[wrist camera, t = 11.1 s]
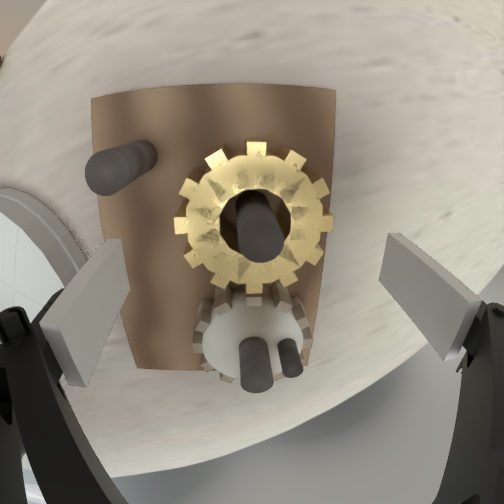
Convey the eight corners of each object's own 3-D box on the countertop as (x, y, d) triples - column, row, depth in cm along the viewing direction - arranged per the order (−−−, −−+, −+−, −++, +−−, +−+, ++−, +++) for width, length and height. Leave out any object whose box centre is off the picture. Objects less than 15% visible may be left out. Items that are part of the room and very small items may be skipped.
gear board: (140, 355, 30) (123, 420, 22) (101, 99, 19) (39, 94, 11) (303, 352, 31) (322, 417, 23) (327, 92, 20) (380, 79, 12)
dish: (125, 240, 25) (105, 266, 20) (87, 380, 32) (76, 408, 28) (-32, 158, 19) (-62, 169, 15) (-34, 306, 26) (-51, 325, 22)
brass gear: (188, 267, 24) (181, 294, 20) (180, 140, 20) (169, 144, 16) (311, 264, 24) (324, 290, 21) (320, 141, 20) (339, 146, 17)
